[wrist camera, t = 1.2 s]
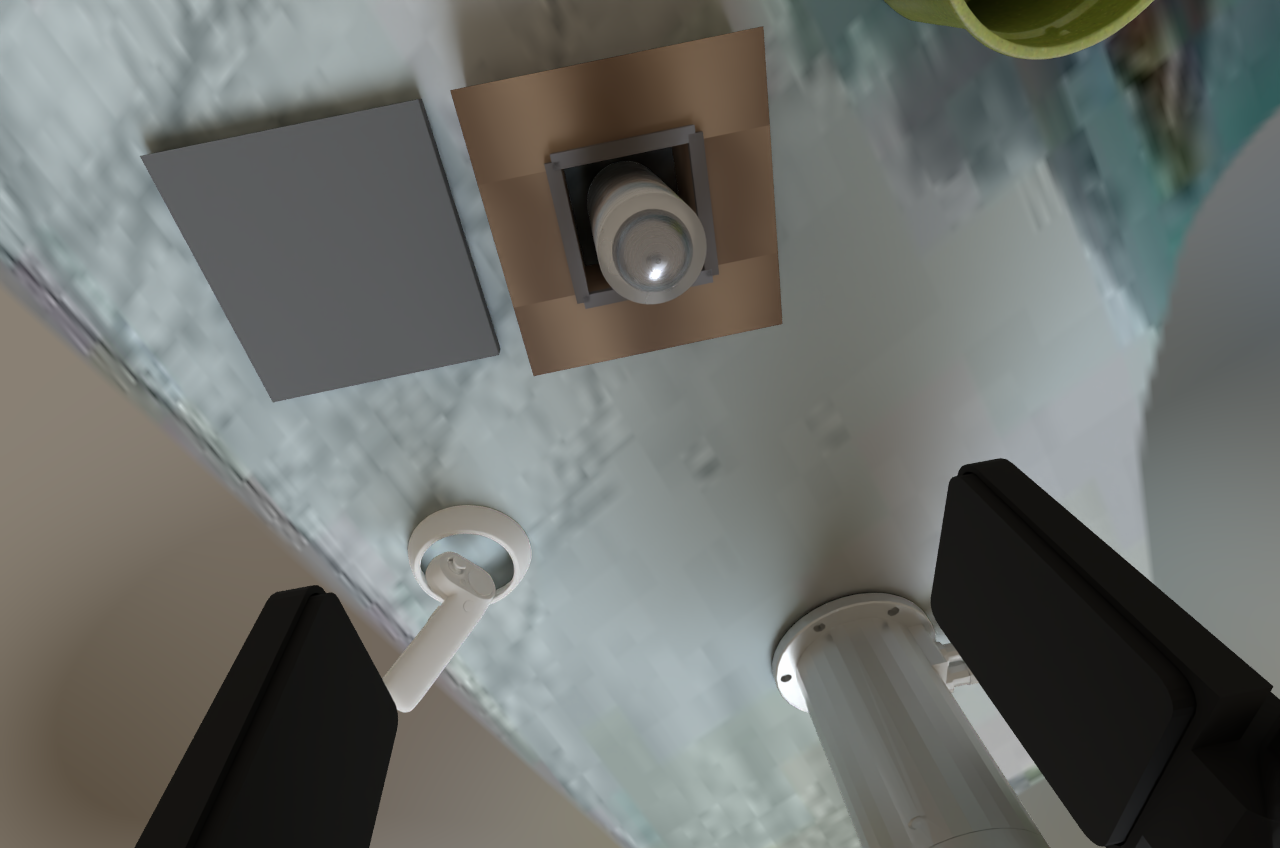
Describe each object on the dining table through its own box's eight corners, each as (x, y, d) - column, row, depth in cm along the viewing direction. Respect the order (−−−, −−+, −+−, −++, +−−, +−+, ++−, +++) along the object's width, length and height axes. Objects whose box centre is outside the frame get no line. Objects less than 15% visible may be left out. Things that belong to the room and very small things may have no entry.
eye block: (734, 35, 27) (766, 25, 23) (756, 295, 33) (785, 326, 29) (466, 89, 27) (448, 90, 23) (537, 341, 33) (533, 379, 28)
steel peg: (657, 153, 29) (708, 188, 19) (669, 234, 31) (721, 304, 21) (578, 169, 29) (588, 213, 19) (596, 249, 31) (612, 327, 21)
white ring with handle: (297, 656, 35) (316, 648, 30) (433, 501, 42) (467, 472, 37) (402, 731, 36) (437, 736, 31) (515, 569, 44) (560, 551, 38)
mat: (421, 98, 27) (418, 99, 26) (500, 349, 33) (499, 354, 32) (150, 154, 27) (139, 155, 26) (278, 395, 33) (272, 402, 32)
